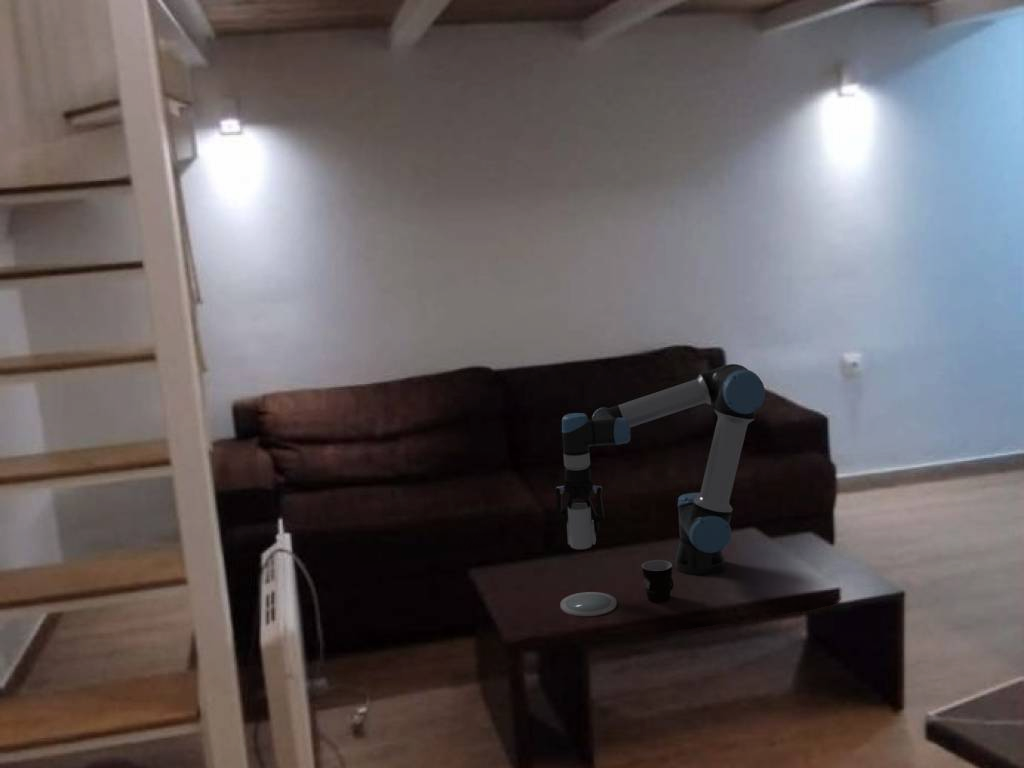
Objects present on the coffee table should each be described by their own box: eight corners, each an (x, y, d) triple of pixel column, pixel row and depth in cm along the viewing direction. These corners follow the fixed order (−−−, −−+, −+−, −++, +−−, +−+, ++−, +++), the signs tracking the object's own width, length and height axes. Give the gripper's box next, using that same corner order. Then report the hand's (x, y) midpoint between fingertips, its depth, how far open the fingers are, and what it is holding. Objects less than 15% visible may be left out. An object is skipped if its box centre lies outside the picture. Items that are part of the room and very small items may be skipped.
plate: (618, 594, 300) (618, 591, 300) (614, 616, 284) (614, 613, 284) (563, 594, 303) (563, 592, 302) (557, 616, 287) (557, 613, 287)
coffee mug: (642, 593, 299) (640, 561, 297) (671, 592, 299) (670, 559, 297) (646, 609, 287) (644, 575, 286) (677, 607, 287) (675, 573, 285)
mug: (594, 548, 297) (591, 508, 295) (571, 550, 296) (568, 510, 294) (590, 537, 307) (587, 499, 304) (567, 539, 306) (565, 500, 304)
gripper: (612, 462, 299) (616, 538, 303) (546, 464, 303) (551, 538, 307) (609, 469, 292) (613, 547, 296) (542, 470, 296) (547, 547, 300)
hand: (582, 542), depth 301 cm, fingers closed on mug, 6 cm apart
